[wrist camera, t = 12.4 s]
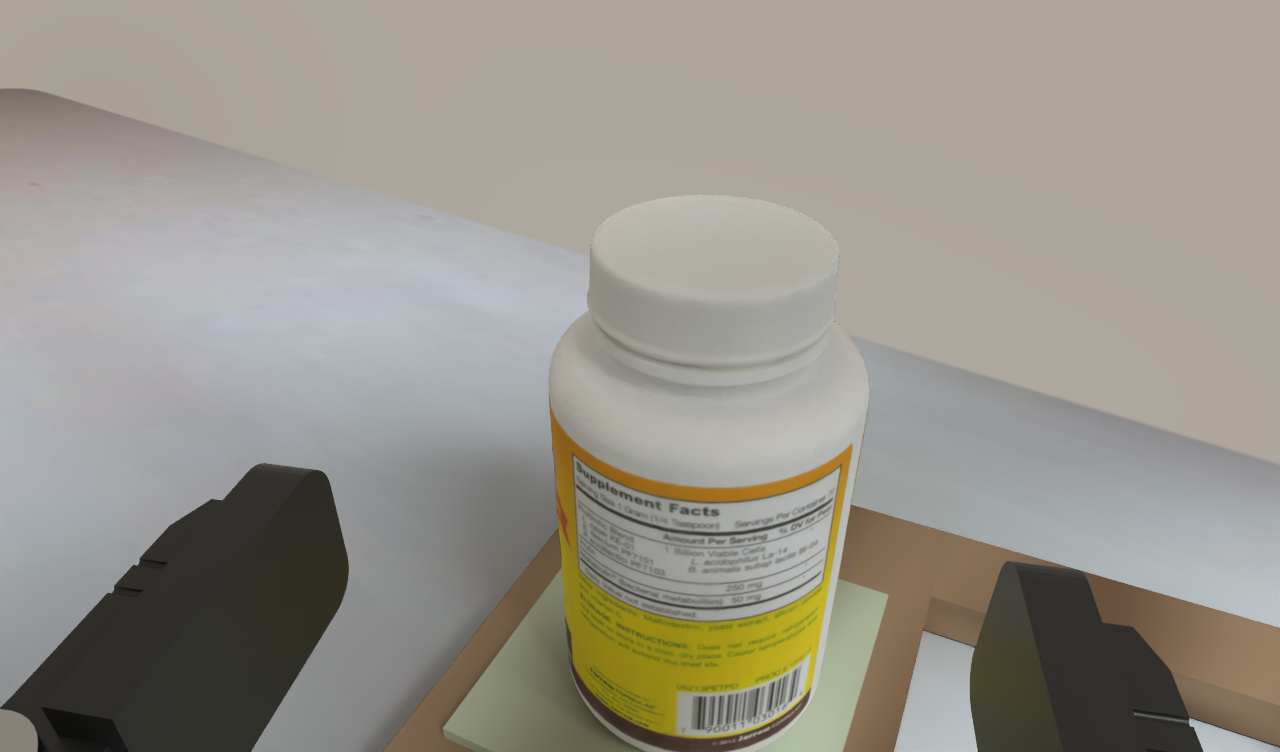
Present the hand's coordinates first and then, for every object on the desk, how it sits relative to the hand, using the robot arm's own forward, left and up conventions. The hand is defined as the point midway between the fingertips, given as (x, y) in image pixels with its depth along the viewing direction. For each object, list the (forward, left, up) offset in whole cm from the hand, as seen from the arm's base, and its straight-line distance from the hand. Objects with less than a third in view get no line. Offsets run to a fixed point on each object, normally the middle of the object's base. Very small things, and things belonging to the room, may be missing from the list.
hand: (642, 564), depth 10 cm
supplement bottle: (+1, -5, -8) cm, 10 cm away
